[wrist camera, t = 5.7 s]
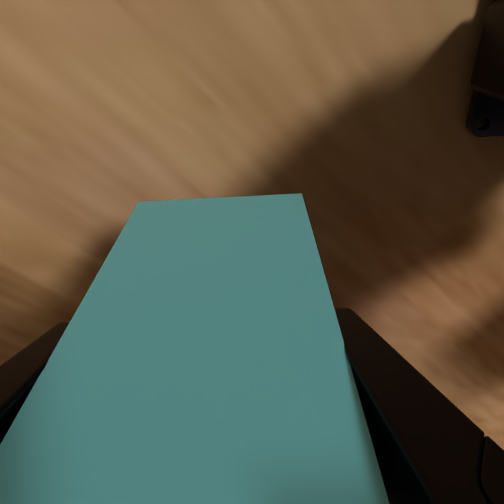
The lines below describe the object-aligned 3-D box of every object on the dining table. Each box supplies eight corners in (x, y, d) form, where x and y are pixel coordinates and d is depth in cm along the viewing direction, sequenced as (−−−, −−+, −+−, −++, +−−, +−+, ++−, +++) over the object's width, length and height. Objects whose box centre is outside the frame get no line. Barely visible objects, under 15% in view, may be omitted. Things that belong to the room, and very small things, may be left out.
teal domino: (301, 193, 12) (427, 640, 4) (301, 239, 13) (401, 690, 4) (138, 201, 12) (-121, 654, 4) (148, 246, 13) (-42, 699, 4)
